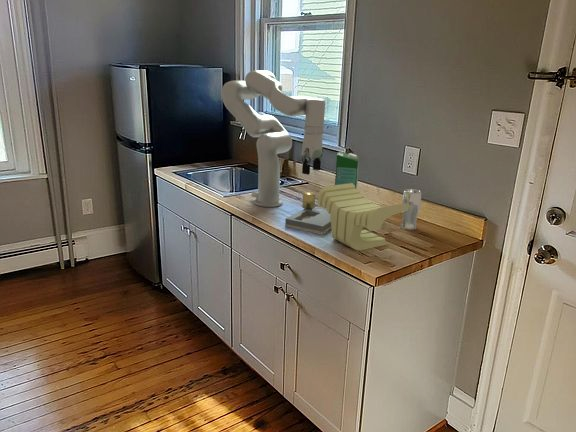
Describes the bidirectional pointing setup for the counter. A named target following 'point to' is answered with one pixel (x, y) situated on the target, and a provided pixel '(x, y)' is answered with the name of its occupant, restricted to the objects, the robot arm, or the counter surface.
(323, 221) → the board
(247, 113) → the robot arm
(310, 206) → the peg
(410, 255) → the counter surface
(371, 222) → the slatted curved stool
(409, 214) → the beer glass
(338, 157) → the milk carton
